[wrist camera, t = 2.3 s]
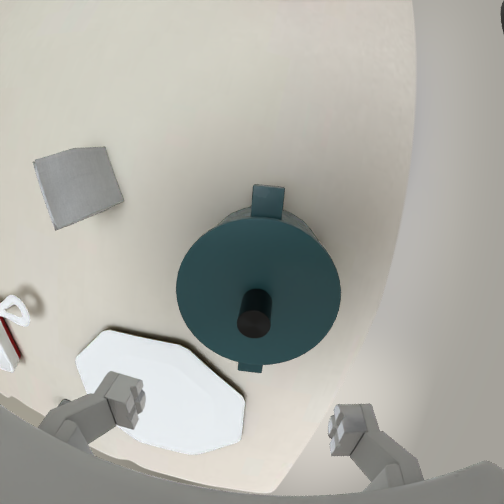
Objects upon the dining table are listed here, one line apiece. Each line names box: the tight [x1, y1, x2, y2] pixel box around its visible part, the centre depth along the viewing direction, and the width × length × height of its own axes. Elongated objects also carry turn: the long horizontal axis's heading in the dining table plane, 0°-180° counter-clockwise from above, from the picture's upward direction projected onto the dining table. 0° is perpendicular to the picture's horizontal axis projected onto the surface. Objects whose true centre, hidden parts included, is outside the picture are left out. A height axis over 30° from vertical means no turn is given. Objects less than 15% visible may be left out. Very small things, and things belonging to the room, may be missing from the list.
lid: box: [176, 217, 341, 365], centre depth 22 cm, size 14×14×5 cm
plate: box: [76, 329, 245, 455], centre depth 39 cm, size 28×28×2 cm
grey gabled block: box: [33, 147, 124, 231], centre depth 25 cm, size 4×7×10 cm, turn 19°
